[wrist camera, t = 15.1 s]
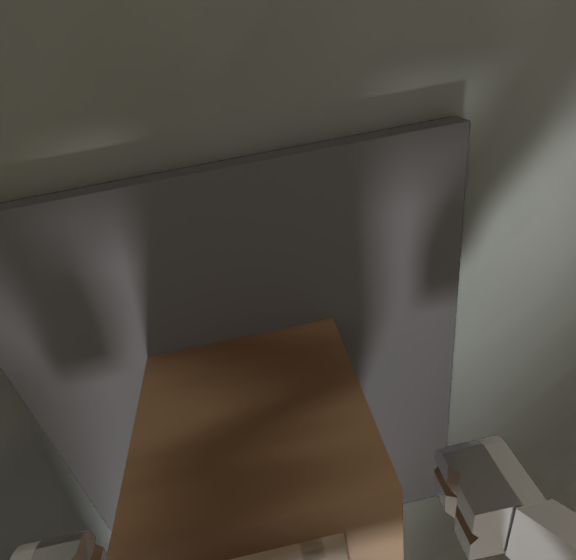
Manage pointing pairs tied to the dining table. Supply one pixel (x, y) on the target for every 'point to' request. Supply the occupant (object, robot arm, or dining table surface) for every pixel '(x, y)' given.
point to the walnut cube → (257, 456)
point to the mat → (240, 285)
